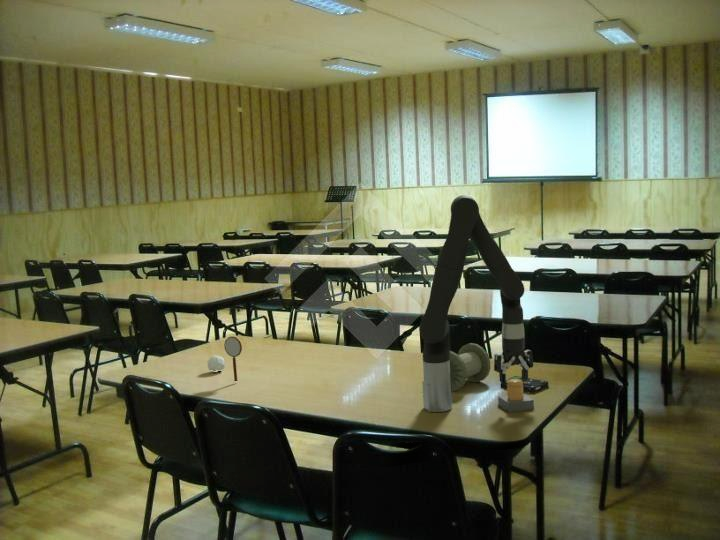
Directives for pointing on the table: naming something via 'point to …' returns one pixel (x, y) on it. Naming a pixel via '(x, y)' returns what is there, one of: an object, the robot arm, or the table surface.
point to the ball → (216, 363)
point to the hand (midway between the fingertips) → (514, 381)
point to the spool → (468, 365)
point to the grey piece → (516, 403)
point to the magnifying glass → (233, 351)
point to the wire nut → (515, 389)
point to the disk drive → (529, 384)
